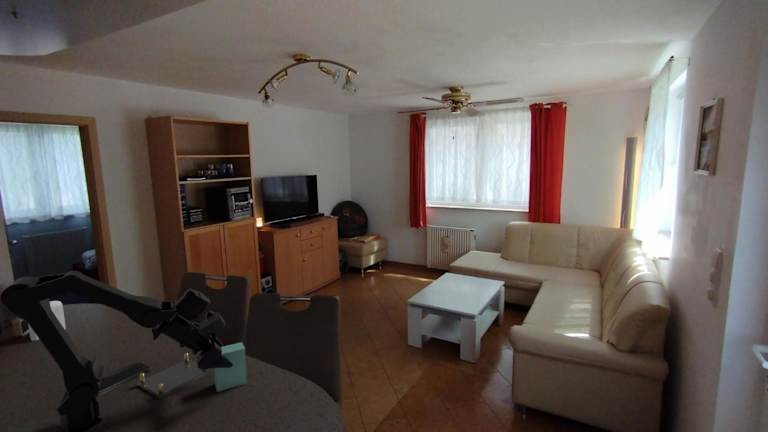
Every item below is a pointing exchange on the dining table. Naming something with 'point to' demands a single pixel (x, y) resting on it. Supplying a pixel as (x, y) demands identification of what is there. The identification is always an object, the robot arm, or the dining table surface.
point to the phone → (122, 377)
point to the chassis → (172, 378)
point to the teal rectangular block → (236, 373)
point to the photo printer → (58, 311)
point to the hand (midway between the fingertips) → (229, 358)
